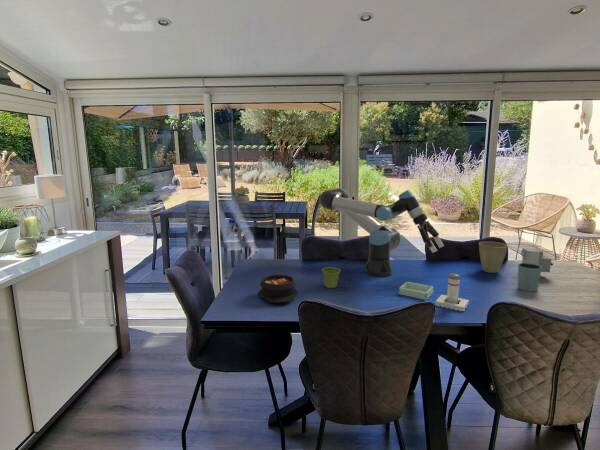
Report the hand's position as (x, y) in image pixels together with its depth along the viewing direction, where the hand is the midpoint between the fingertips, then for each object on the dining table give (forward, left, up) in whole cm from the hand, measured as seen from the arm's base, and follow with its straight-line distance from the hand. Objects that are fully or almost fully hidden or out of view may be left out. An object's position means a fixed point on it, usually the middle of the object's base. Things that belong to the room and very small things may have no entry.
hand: (438, 249), depth 213 cm
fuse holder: (+17, -38, -15) cm, 44 cm away
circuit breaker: (+45, +31, -15) cm, 57 cm away
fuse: (+17, -38, -15) cm, 44 cm away
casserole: (-54, -74, -16) cm, 93 cm away
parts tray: (-1, -33, -15) cm, 36 cm away
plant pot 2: (+23, +27, -15) cm, 39 cm away
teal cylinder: (+43, +6, -15) cm, 46 cm away
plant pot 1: (-40, -48, -15) cm, 64 cm away
